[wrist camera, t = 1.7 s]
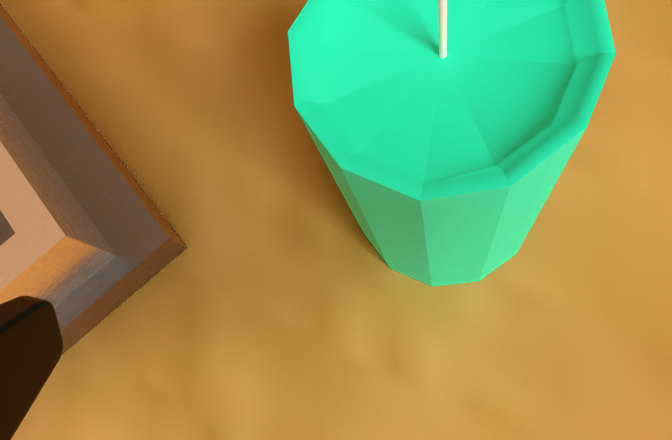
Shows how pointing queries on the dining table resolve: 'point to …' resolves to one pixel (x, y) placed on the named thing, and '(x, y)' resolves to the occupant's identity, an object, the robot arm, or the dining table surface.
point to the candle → (448, 118)
